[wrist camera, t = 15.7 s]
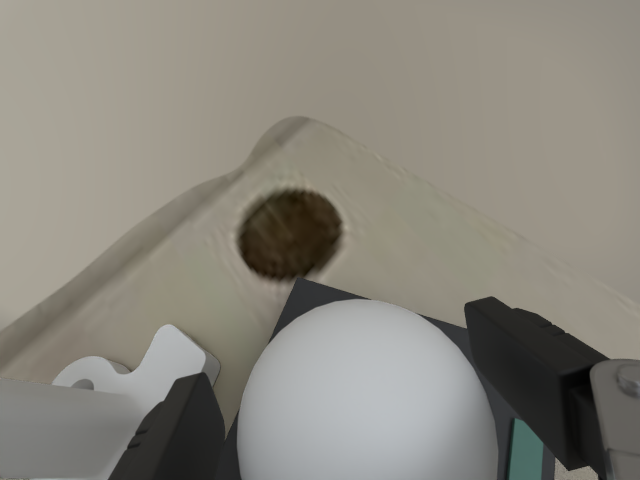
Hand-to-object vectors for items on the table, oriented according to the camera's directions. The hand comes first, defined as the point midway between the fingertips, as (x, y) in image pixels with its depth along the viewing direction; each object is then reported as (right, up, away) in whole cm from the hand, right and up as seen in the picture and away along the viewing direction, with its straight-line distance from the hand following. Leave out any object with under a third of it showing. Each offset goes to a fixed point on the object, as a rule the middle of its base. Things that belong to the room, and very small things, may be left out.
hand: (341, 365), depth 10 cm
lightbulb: (+1, -5, +6) cm, 8 cm away
